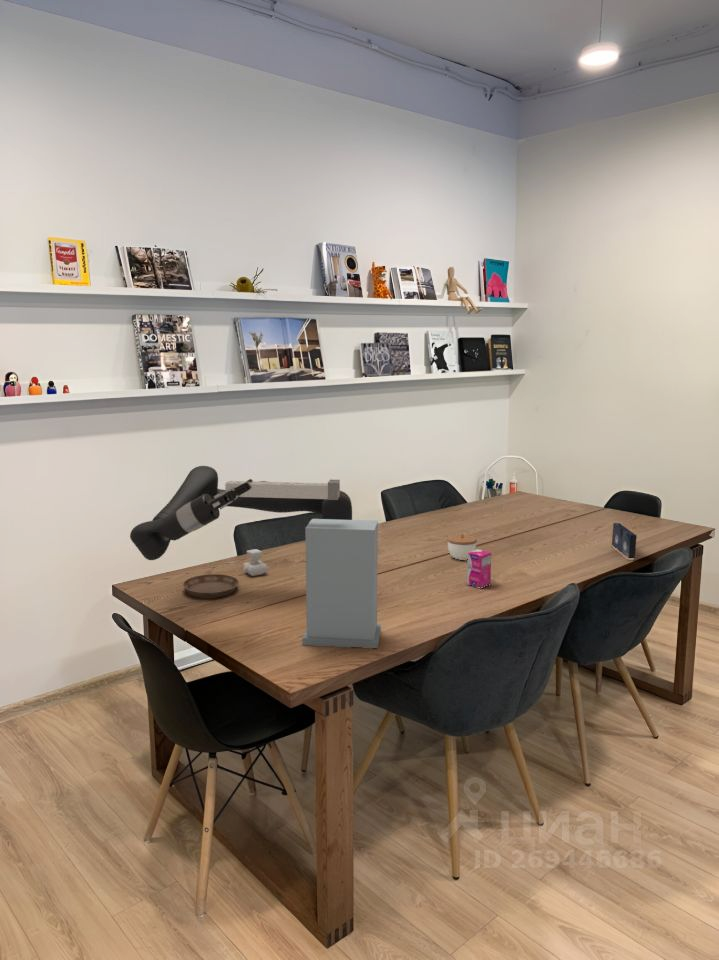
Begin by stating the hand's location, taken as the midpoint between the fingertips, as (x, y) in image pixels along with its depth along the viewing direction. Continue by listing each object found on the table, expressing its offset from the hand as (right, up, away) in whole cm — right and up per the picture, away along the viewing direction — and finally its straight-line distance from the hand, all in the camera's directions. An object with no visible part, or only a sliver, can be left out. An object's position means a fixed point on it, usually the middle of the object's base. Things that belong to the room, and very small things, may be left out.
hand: (250, 483), depth 197 cm
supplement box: (+68, -34, +49) cm, 91 cm away
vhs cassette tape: (+129, -27, +85) cm, 157 cm away
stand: (+24, -42, +5) cm, 49 cm away
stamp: (-7, -32, +60) cm, 68 cm away
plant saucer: (-19, -35, +43) cm, 59 cm away
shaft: (+8, -3, 0) cm, 9 cm away
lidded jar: (+67, -28, +79) cm, 107 cm away
